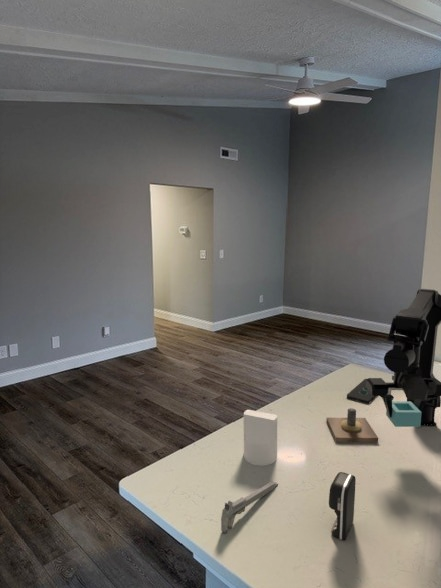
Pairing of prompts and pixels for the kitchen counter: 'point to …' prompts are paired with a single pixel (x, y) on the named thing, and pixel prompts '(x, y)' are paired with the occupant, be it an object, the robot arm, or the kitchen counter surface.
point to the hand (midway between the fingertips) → (402, 417)
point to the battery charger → (342, 503)
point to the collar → (405, 414)
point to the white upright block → (260, 437)
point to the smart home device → (361, 393)
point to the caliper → (242, 505)
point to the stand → (351, 429)
